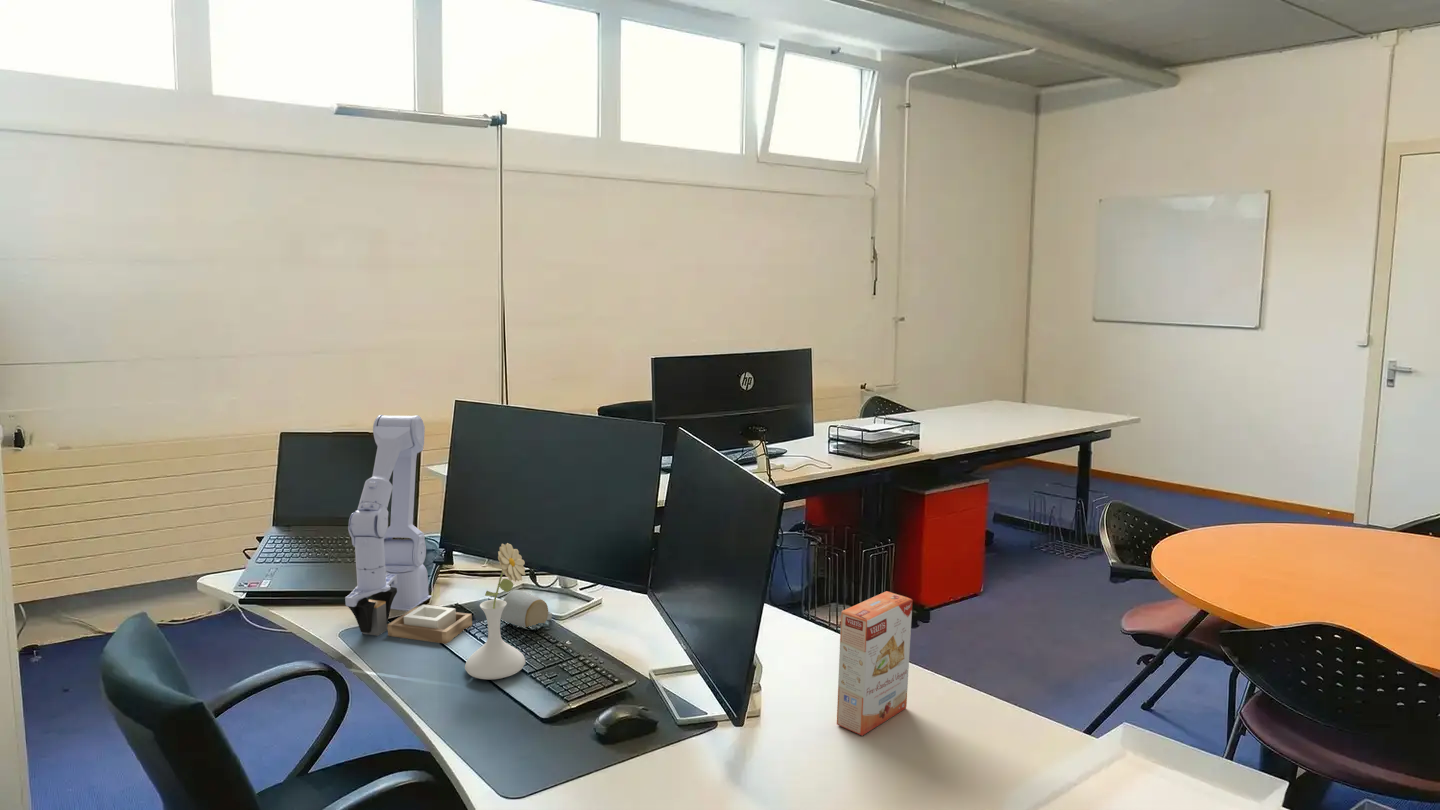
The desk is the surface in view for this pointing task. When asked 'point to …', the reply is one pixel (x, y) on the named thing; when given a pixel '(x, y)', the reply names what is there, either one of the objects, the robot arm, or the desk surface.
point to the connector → (378, 618)
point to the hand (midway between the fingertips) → (374, 626)
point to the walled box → (429, 629)
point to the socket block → (431, 617)
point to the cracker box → (873, 661)
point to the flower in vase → (498, 626)
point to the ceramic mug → (524, 609)
